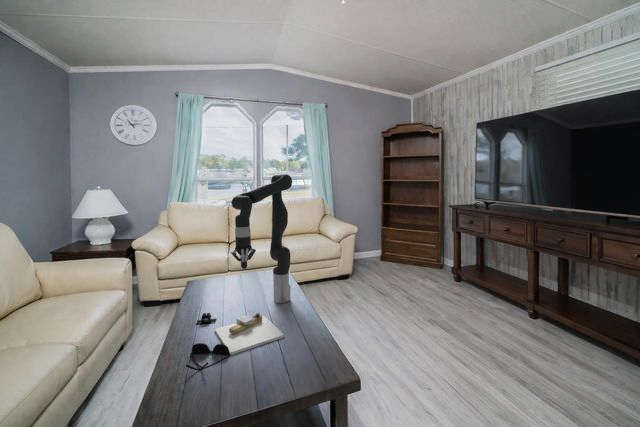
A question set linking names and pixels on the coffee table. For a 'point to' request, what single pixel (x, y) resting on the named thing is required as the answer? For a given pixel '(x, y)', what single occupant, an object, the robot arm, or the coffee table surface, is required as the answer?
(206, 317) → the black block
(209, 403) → the coffee table surface
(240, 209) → the robot arm
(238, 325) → the oak link
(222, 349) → the sunglasses
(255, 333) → the board
